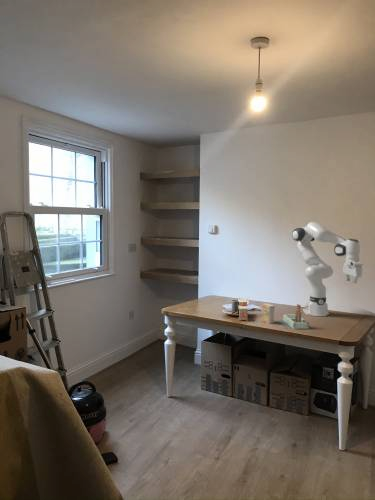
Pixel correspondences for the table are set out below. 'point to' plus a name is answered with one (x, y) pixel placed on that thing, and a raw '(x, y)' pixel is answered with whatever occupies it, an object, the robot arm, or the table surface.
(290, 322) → the rack
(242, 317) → the stack of blocks
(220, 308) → the table surface
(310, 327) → the mat
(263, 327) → the table surface
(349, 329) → the table surface
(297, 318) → the tan wooden tall piece
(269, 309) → the supplement box
